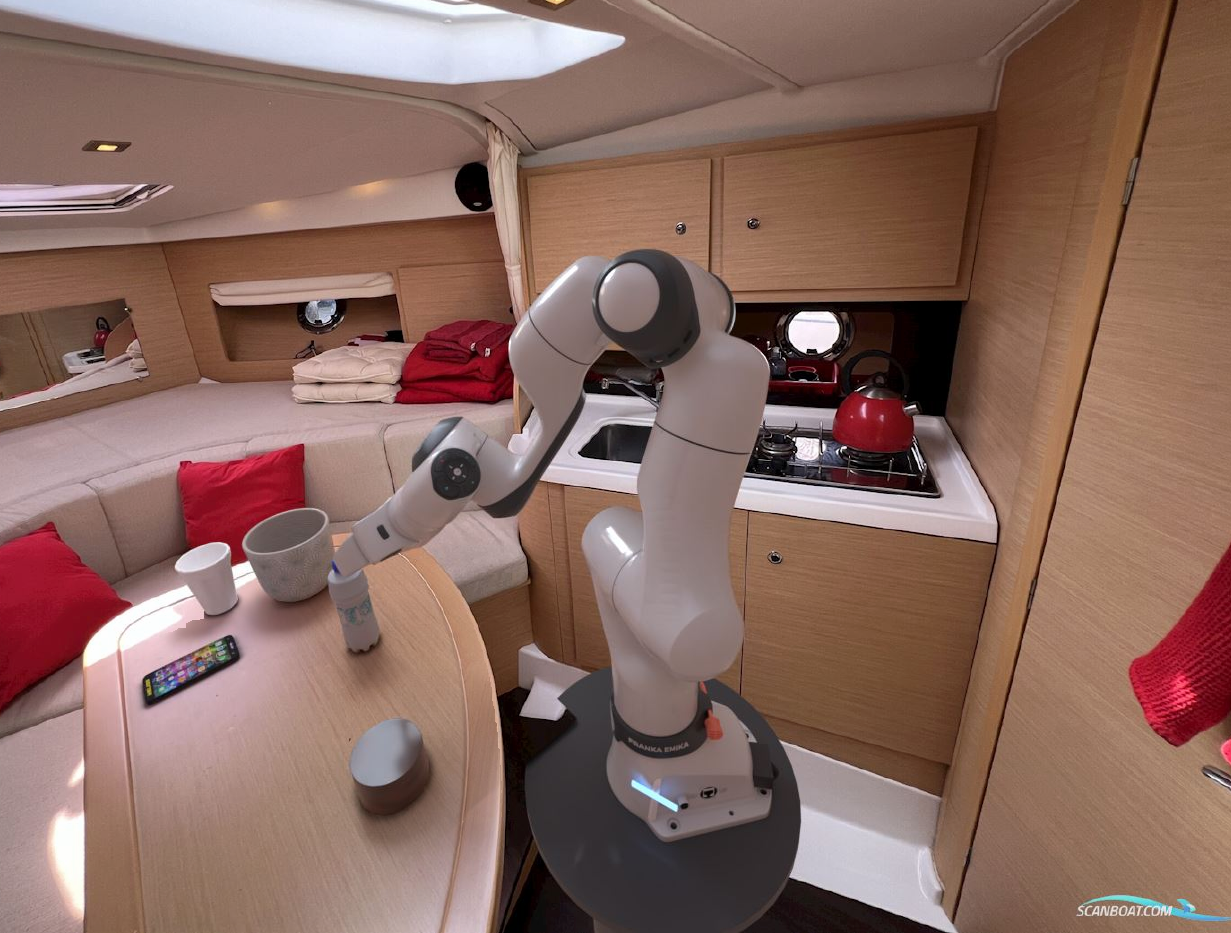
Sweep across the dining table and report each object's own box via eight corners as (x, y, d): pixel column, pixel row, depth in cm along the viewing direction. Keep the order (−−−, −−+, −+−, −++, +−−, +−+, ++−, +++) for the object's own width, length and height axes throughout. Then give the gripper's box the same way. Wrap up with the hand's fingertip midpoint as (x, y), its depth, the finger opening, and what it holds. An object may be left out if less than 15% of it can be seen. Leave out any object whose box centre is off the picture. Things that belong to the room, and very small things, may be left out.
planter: (359, 579, 121) (343, 522, 115) (285, 626, 109) (263, 565, 103) (321, 553, 131) (304, 499, 126) (249, 593, 120) (228, 536, 114)
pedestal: (436, 744, 83) (429, 716, 81) (419, 814, 74) (411, 785, 71) (373, 746, 83) (364, 718, 81) (348, 815, 74) (337, 787, 72)
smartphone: (240, 655, 102) (144, 704, 93) (241, 658, 102) (146, 707, 93) (231, 632, 107) (141, 676, 99) (233, 636, 108) (143, 680, 99)
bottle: (344, 638, 105) (318, 553, 97) (379, 624, 107) (357, 541, 100) (349, 662, 99) (322, 574, 92) (385, 646, 102) (362, 560, 94)
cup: (257, 598, 118) (239, 549, 113) (210, 629, 110) (189, 578, 105) (232, 584, 123) (214, 537, 118) (186, 613, 115) (165, 563, 110)
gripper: (453, 473, 90) (421, 506, 99) (342, 529, 75) (317, 562, 84) (474, 505, 89) (440, 535, 98) (366, 568, 74) (337, 597, 83)
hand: (382, 548), depth 91 cm, fingers open, 8 cm apart
